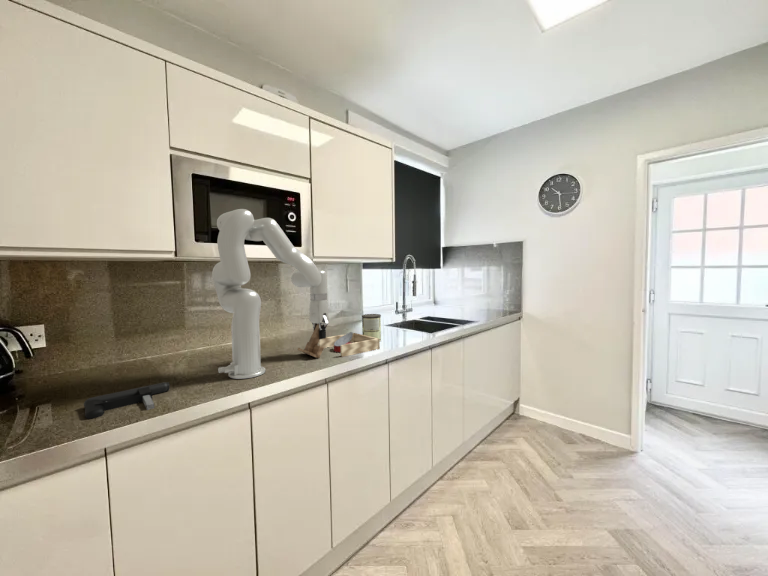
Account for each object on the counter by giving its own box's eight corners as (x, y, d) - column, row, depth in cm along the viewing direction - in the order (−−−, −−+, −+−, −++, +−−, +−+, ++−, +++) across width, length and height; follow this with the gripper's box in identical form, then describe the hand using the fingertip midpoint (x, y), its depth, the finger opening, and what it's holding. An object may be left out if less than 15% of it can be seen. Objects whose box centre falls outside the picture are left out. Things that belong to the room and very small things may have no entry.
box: (342, 356, 141) (342, 345, 140) (318, 348, 157) (318, 338, 157) (379, 348, 154) (379, 338, 154) (354, 342, 171) (354, 332, 170)
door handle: (178, 395, 93) (167, 379, 104) (84, 417, 79) (83, 396, 91) (179, 406, 93) (167, 389, 105) (85, 430, 79) (84, 407, 91)
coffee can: (358, 340, 175) (358, 314, 174) (374, 338, 181) (374, 313, 180) (368, 343, 166) (368, 316, 166) (385, 341, 172) (384, 315, 171)
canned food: (351, 361, 151) (351, 345, 146) (331, 358, 152) (329, 342, 147) (357, 345, 160) (357, 329, 155) (338, 343, 162) (337, 327, 157)
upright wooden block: (309, 354, 136) (323, 324, 140) (297, 349, 145) (311, 321, 149) (318, 358, 139) (332, 329, 143) (306, 353, 148) (319, 326, 152)
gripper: (302, 297, 149) (303, 336, 149) (320, 299, 136) (321, 341, 136) (317, 296, 153) (318, 334, 154) (335, 298, 140) (336, 339, 141)
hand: (319, 337), depth 145 cm, fingers open, 4 cm apart
